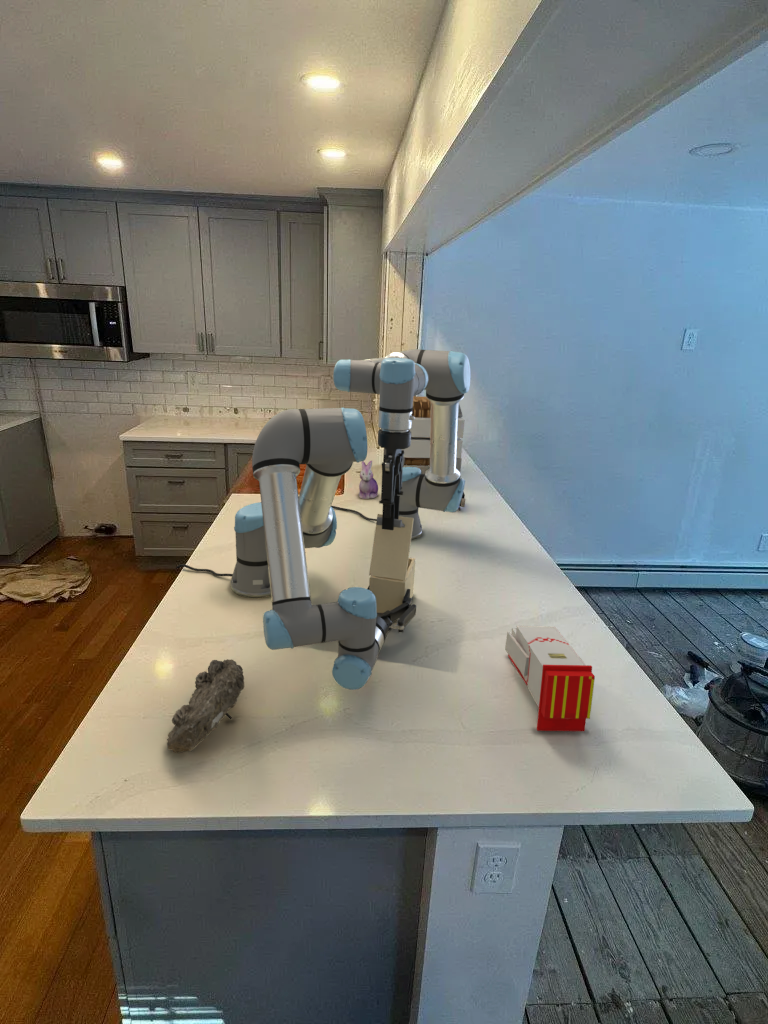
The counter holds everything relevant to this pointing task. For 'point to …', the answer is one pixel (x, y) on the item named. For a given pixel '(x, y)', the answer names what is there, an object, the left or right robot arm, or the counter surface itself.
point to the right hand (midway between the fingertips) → (390, 524)
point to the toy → (552, 677)
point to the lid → (391, 549)
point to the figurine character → (462, 501)
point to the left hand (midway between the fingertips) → (389, 590)
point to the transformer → (426, 435)
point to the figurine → (367, 482)
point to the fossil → (206, 705)
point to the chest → (392, 589)
